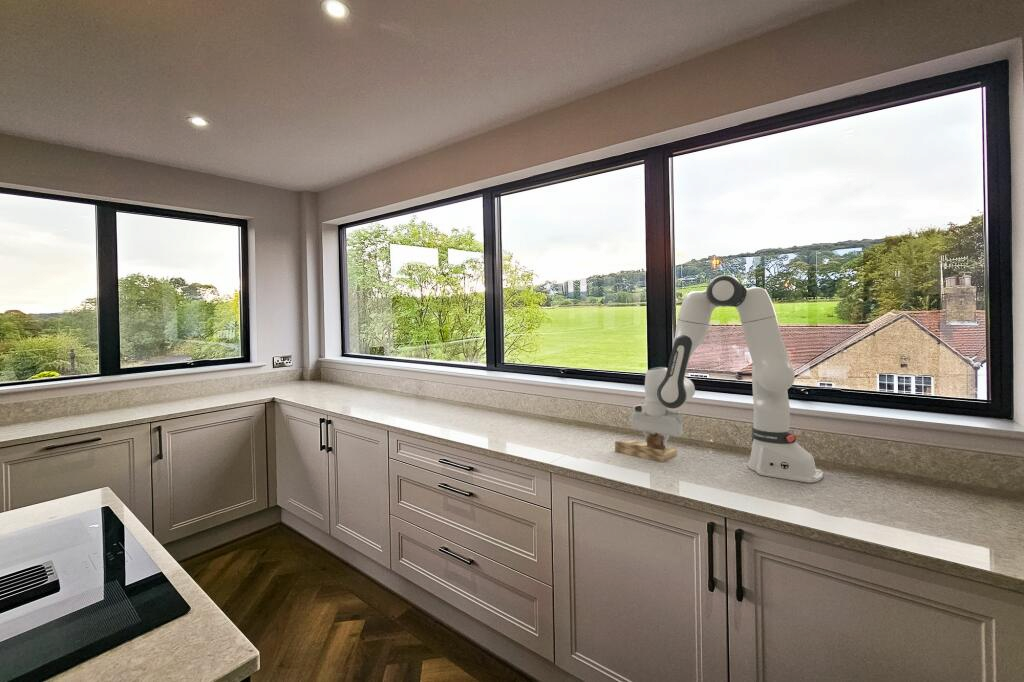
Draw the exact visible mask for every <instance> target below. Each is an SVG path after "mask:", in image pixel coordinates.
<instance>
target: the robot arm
mask: <svg viewBox="0 0 1024 682" xmlns="http://www.w3.org/2000/svg"><path fill="white" fill-rule="evenodd" d="M718 307H722V308H723V307H724V308H725V307H730V308H731V307H733V308H735V309H736V310H737V312H738V315H739V319H740V324H741V327H742V332H743V335H744V339H745V343H746V347H747V349H748V352H749V355H750V359H751V361H752V368H751V381H752V382H751V384H752V399H753V426H752V427H751V434H750V435H751V443H752V444H751V451H750V457H749V461H748V463H747V467H748V468H749V469H750V470H752V471H754V472H756V474H758V475H760V476H763V477H764V476H765V477H771V478H776V479H783V480H790V481H796V482H800V483H801V482H802V483H811V484H812V483H817V482H819V481H821V480H822V479H823V478H824V473H823V471H822V470H821V469H819V468H817V467H816V463H815V459H814V456H813V455H812V453H810V452H809V451H807V450H806V449H805V448H803V446H801V445H800V444H799V443H798V442H797V432H793V431H792V430H791V429H790V423H791V420H790V419H791V418H790V417H791V414H790V413H791V411H790V410H791V407H790V400H789V394H788V390H789V389H790V388H792V386H793V384H794V382H795V371H794V369H793V366H792V363H791V360H790V359H791V358H790V357H789V356H790V355H789V354H788V351H787V350H788V349H787V348H786V345H785V343H784V340H783V337H782V333H781V329H780V328H781V327H780V325H779V321H778V317H777V313H776V309H775V307H774V304H773V300H772V299H771V297H770V295H769V293H768V291H767V290H766V289H765V288H763V287H758V286H757V287H756V286H755V287H754V286H753V287H748V288H746V287H745V286H744V285H743V284H742V283H741V282H740V281H739V280H738V279H737V278H736V277H734V276H732V275H729V274H721V275H717V276H715V277H714V278H712V279H711V280H710V282H708V285H707V287H706V289H705V290H702V291H700V290H699V291H698V290H694V291H690V292H688V293H686V294H685V296H684V298H683V300H682V302H681V305H680V308H679V312H678V315H677V321H676V326H675V333H674V339H673V345H672V349H671V353H670V357H669V361H668V364H667V365H668V366H667V367H666V366H657V367H652V368H649V369H648V370H647V371H646V373H645V378H644V392H645V397H644V402H643V403H638V404H636V405H634V406H632V411H633V412H632V414H631V420H630V425H631V428H632V429H633V430H639V431H642V433H643V436H644V438H645V443H647V435H649V434H650V433H658V434H662V435H664V437H665V439H664V440H662V441H661V445H663V446H665V447H666V446H667V445H668V440H669V438H670V437H674V438H675V437H676V438H678V437H680V436H682V435H683V433H684V430H683V429H684V428H683V415H682V414H681V413H680V412H678V411H673V410H670V409H678V408H679V407H682V405H684V404H685V403H687V402H688V401H689V400H691V399H692V398H693V397H694V395H695V392H696V387H695V383H694V382H693V381H692V380H691V379H690V378H688V377H686V375H687V374H686V373H687V369H688V365H689V361H690V360H691V359H690V358H691V356H692V355H693V353H694V352H695V351H696V350H697V349H698V347H700V346H701V345H702V344H703V343H704V341H705V338H706V337H707V334H708V331H709V326H710V321H711V318H712V317H711V316H712V314H713V312H714V310H715V309H716V308H718Z"/></svg>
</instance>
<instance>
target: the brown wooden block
mask: <svg viewBox="0 0 1024 682" xmlns="http://www.w3.org/2000/svg"><path fill="white" fill-rule="evenodd" d="M664 439H665V437H664V434H659V433H654V432H651V433H648V435H647V442H646V443H647V447H649V448H654V449H659V450H661V449H664V448H665V447H666V446H663V445H661V441H662V440H664Z"/></svg>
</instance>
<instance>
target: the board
mask: <svg viewBox="0 0 1024 682" xmlns="http://www.w3.org/2000/svg"><path fill="white" fill-rule="evenodd" d="M614 452H617V453H622V454H624V455H629V456H633V457H638V458H642V459H647V460H651V461H656V462H660V463H662V462H665V461H667V460H669V459H671V458H674V457H675V456H677V455H678V449H676V448H675V449H674V448H671V447H666V446H665V448H664V449H661V450H659V449H654V448H649V447H647V442H642V441H638V440H637V441H636V440H628V441H621V440H616V441H614Z"/></svg>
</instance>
